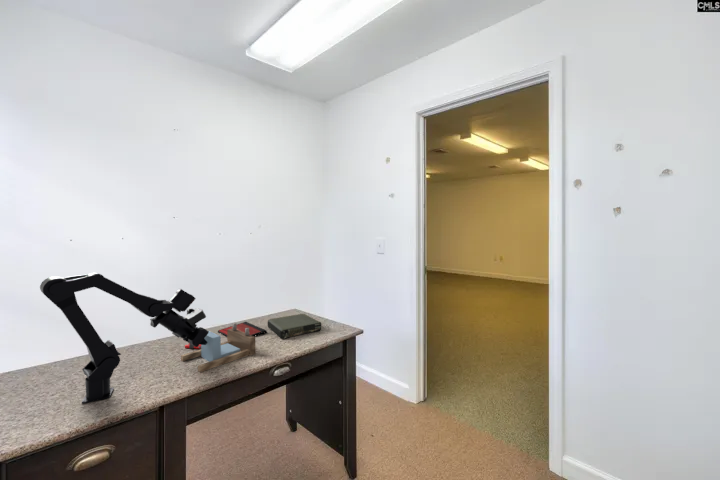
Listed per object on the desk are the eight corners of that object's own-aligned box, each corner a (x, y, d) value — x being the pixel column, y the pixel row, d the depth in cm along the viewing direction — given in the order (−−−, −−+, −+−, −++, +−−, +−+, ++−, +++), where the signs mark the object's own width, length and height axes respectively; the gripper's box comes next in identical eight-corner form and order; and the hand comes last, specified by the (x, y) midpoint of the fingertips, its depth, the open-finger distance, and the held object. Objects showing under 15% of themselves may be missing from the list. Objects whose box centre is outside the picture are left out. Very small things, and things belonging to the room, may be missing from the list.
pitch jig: (201, 373, 109) (200, 345, 108) (180, 359, 120) (179, 334, 119) (255, 353, 126) (255, 329, 125) (232, 343, 137) (232, 321, 136)
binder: (246, 321, 164) (267, 329, 150) (246, 325, 165) (267, 334, 150) (215, 329, 153) (235, 339, 138) (216, 334, 153) (235, 344, 139)
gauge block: (213, 364, 116) (212, 338, 116) (201, 357, 122) (200, 332, 122) (240, 354, 125) (239, 330, 124) (227, 348, 131) (227, 325, 131)
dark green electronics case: (284, 342, 140) (284, 331, 140) (261, 329, 157) (261, 320, 157) (325, 330, 156) (325, 320, 155) (301, 320, 173) (301, 311, 173)
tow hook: (197, 341, 140) (182, 348, 131) (197, 313, 141) (183, 318, 131) (213, 342, 139) (200, 349, 130) (214, 314, 139) (200, 319, 130)
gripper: (202, 307, 108) (232, 330, 117) (180, 299, 120) (209, 321, 129) (178, 335, 102) (212, 357, 111) (157, 324, 114) (190, 345, 123)
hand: (206, 343), depth 119 cm, fingers closed, pressing on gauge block
